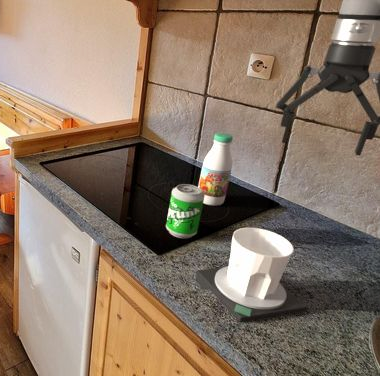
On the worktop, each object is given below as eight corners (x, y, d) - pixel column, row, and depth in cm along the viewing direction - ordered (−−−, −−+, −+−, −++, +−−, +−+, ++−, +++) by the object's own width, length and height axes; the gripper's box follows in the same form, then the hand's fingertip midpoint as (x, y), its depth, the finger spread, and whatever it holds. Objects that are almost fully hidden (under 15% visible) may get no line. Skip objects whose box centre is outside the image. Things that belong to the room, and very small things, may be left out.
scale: (304, 317, 75) (309, 304, 74) (237, 328, 72) (241, 315, 71) (253, 271, 87) (256, 260, 86) (194, 279, 84) (196, 267, 83)
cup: (243, 264, 85) (254, 223, 81) (289, 291, 77) (305, 247, 73) (211, 278, 80) (221, 235, 76) (257, 309, 72) (271, 263, 68)
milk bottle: (191, 194, 122) (204, 130, 113) (215, 194, 123) (230, 130, 114) (203, 206, 115) (217, 139, 106) (228, 205, 116) (245, 139, 107)
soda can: (171, 221, 107) (178, 180, 101) (200, 230, 103) (209, 188, 98) (160, 233, 101) (168, 190, 96) (191, 243, 97) (200, 199, 92)
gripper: (279, 40, 81) (254, 140, 90) (441, 50, 70) (394, 164, 79) (282, 38, 87) (258, 132, 96) (432, 46, 75) (389, 153, 84)
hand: (319, 147), depth 87 cm, fingers open, 13 cm apart
